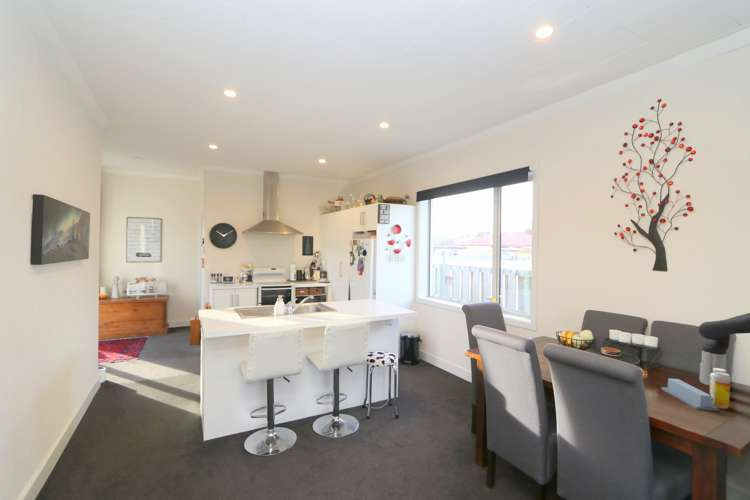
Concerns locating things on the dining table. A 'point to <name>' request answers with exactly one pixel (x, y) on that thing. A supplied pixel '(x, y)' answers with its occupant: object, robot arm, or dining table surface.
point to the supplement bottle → (717, 371)
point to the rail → (689, 395)
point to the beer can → (720, 389)
